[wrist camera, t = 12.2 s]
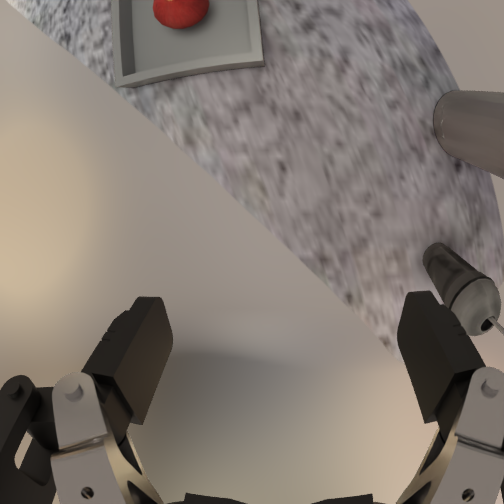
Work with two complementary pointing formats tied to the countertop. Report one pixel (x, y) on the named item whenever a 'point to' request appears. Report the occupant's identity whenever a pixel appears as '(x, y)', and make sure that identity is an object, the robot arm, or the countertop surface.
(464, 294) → the beverage cup
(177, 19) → the onion
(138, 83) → the tray
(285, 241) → the countertop surface
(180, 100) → the countertop surface
